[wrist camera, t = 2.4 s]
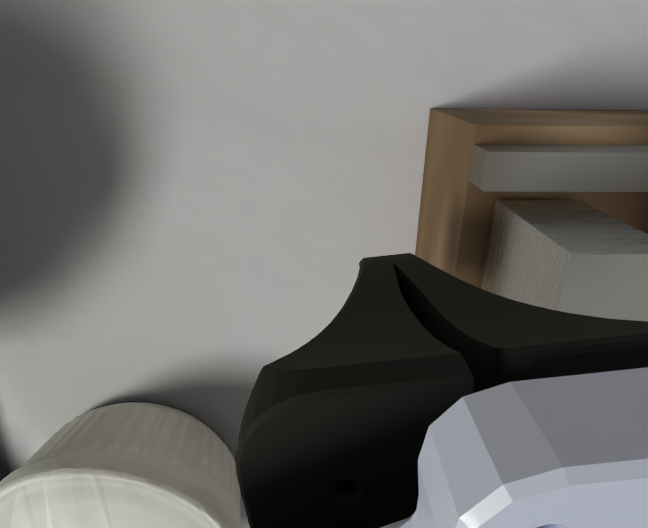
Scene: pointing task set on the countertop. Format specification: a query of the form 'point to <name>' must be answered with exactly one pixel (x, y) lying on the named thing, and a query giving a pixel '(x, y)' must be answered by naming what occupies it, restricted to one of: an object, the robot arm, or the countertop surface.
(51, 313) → the countertop surface
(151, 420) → the ramekin
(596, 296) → the plunger
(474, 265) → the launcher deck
